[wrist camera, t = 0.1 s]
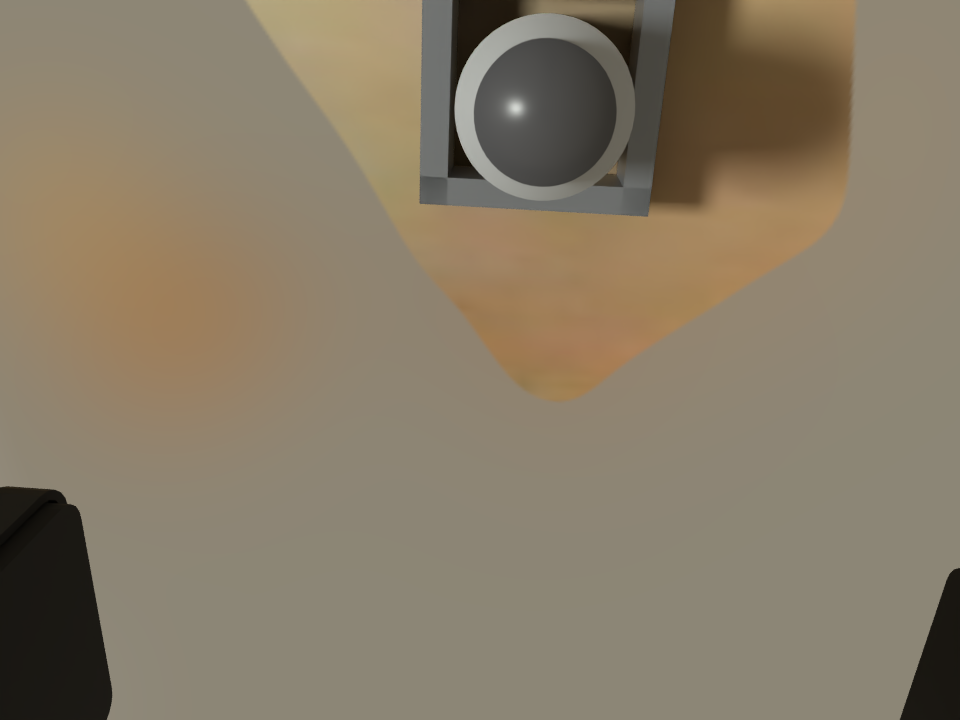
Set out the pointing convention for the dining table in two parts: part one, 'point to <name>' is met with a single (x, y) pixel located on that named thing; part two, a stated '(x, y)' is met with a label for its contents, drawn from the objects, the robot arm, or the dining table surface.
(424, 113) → the divided grey tray
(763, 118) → the dining table surface
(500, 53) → the grey bottle
